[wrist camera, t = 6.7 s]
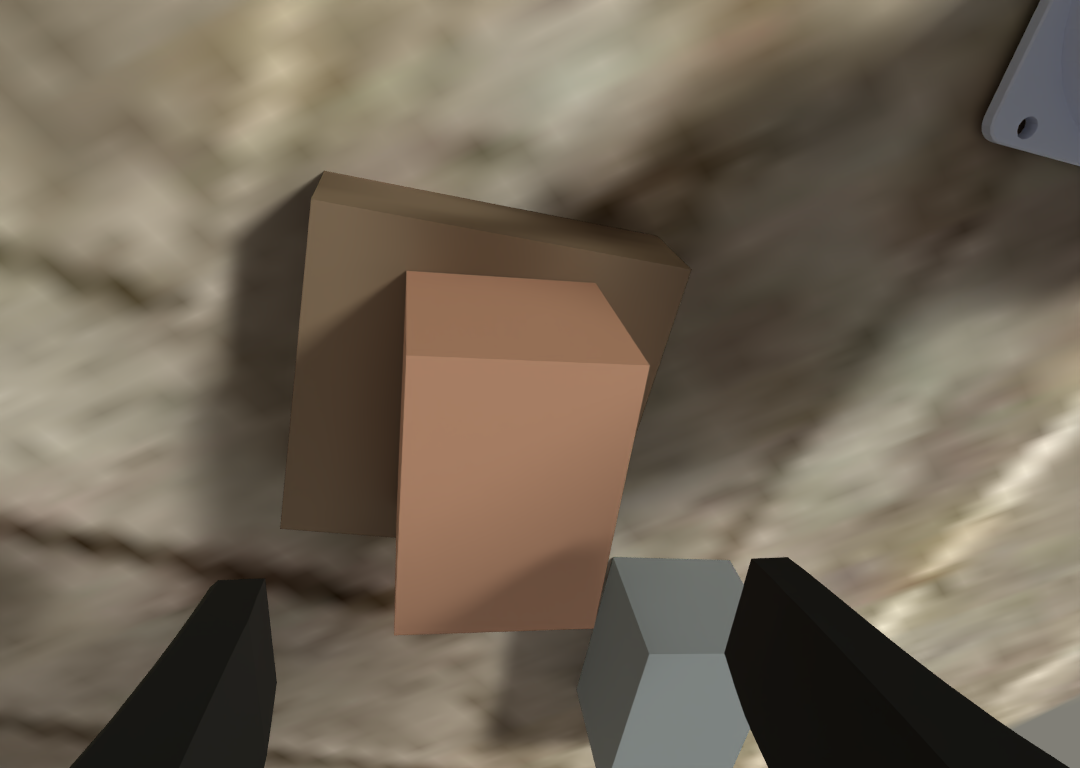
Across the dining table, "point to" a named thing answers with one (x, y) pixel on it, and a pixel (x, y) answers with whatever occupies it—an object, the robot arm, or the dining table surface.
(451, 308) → the terracotta block
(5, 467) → the dining table surface
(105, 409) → the dining table surface
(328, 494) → the walnut block
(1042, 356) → the dining table surface
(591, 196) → the dining table surface
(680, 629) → the grey block
